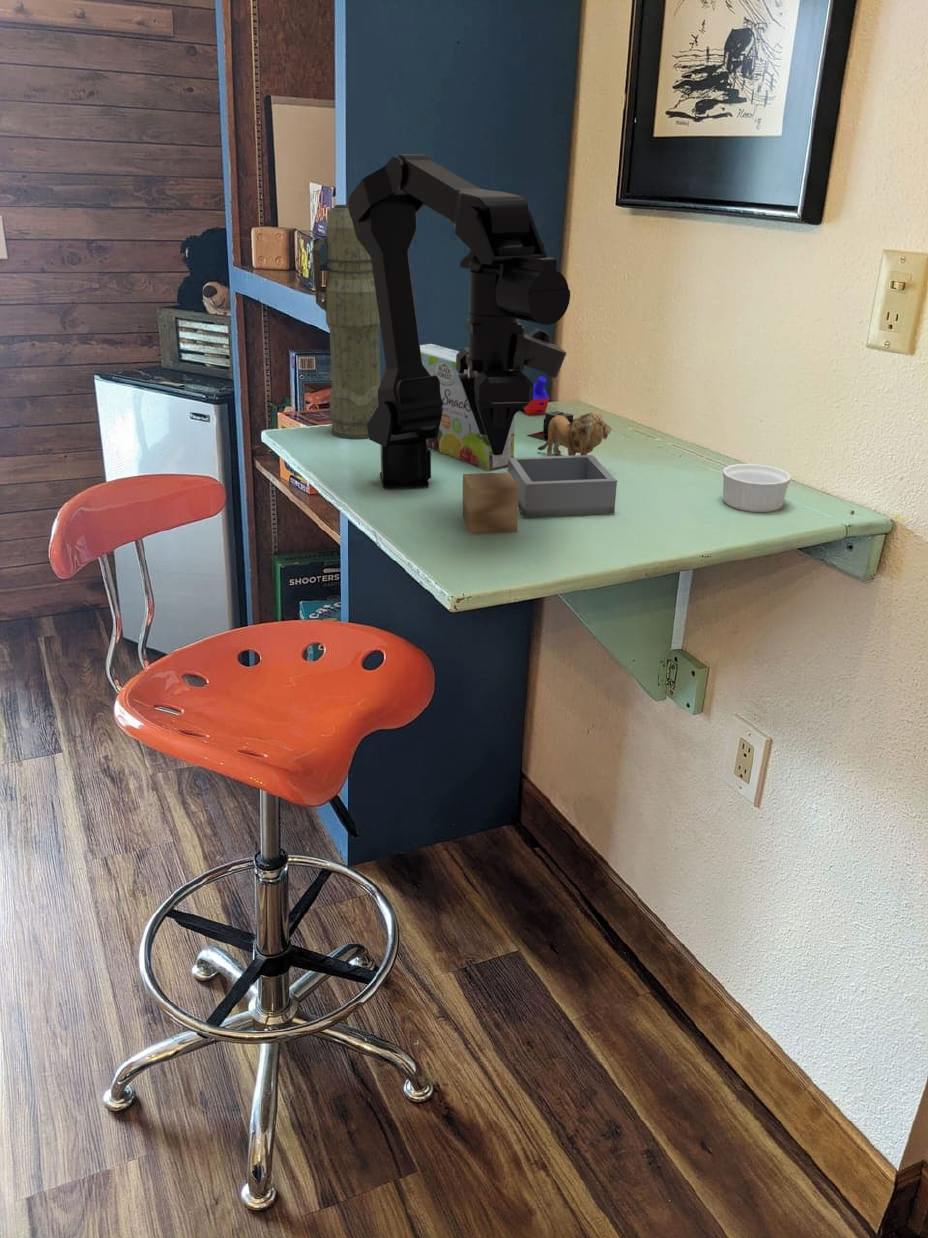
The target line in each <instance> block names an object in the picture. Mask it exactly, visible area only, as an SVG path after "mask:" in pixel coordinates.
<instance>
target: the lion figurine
mask: <svg viewBox="0 0 928 1238" xmlns="http://www.w3.org/2000/svg"><path fill="white" fill-rule="evenodd" d="M602 415H603V414H602V413H601V412H597V411H595V412H593V411H591V412H589V413H586V414H583V415H580V416H579V417H575V418H573V421H572V422H571V423H570V422H569V421H568V419H567V418H566V417H564V416H559V415H557V416H556V417H554V418H552V419H551V421H550V423H549V427H548V440H547V441H545V443H544V444H543V445H540V446H539V447H537V450H538V451H543V450H546V456H553V454H554V455H555V456H561V454H562V452H561V450H560V449H559V447H560V446H562V445H563V446H562V447H564V448H566V449H567V456H573V455H576V454H579V455H588V454H589V453H592V452H593V451H594V448H596V447H598V446H599V445H601V443H602V441H603V440H607V439H608V436H609V435H610V433H611V431H612V427H611V426H609V424H607V423H606V422H605V420H604V419H603V416H602ZM556 436H557V438H556ZM555 438H556V440H555ZM554 441H555V443H554ZM560 444H562V445H560ZM552 452H553V453H552Z"/></svg>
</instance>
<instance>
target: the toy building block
mask: <svg viewBox="0 0 928 1238" xmlns="http://www.w3.org/2000/svg"><path fill="white" fill-rule="evenodd" d="M546 382H547V378H546V377H545V376H544V375H539V377H538V378H537V380H536V382H535V383H533V384H534V391H533V401H531V402H529V404H528V405H527V406H526V407H523V408H522V409H520V410H519V411H524V412H525V414H526V415H527V416H531V415H540V414H541V415H542V414H546V412H547V409H548V406H549V402H550V400H551V399H550V396H549V394H548V393H547V391H546V390H545V387H546V384H547V383H546Z"/></svg>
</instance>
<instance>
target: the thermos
mask: <svg viewBox="0 0 928 1238" xmlns="http://www.w3.org/2000/svg"><path fill="white" fill-rule="evenodd" d="M326 222H327V224H326V229H325V236H324V238H320V239H318V240H317V242H315V244H314V246H313V247H312V248H311V249H312V262H313V263H312V264H313V273H314V274H313V277H314V287H315V290H314V291H315V303H316V305H317V306H318V307H319V308H320V309H321V310H323V311H324V312H325V323H326V325H327V327H328V329H329V347H330V348H329V349H330V367H331V369H330V370H331V389H330V394H329V417H330V419H331V433H332V435H333V436H335V437H337V438H341V439H349V440H363V439H364V440H365V439H369V434H368V429H367V424H368V422H369V420H370V419H371V417H372V415H373V414H374V412H375V411H376V409H377V407H378V388H379V386H380V383H381V359H380V358H381V355H380V353H381V352H380V350H381V349H380V329H381V326H380V319H379V312H378V305H377V298H376V290H375V283H374V276H373V269H372V262H371V257H370V255H369V254H368V253H367V251H366V250H365V249H364V247H363V246H362V245H361V243H360V242H359V241H358V239H357V238H356V235H355V231H354V226H353V222H352V219H351V216H350V214H349V209H348V204H334V207H329V211H328V215H327V219H326ZM323 245H325V246H326V260H328V261H327V262H328V269H327V278H326V283H325V287H324V300H323V293H322V277H321V275H322V274H321V271H322V270H321V257H320V255H321V254H320V253H321V252H320V250H321V247H322V246H323Z"/></svg>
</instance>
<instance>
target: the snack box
mask: <svg viewBox="0 0 928 1238" xmlns="http://www.w3.org/2000/svg"><path fill="white" fill-rule="evenodd" d="M420 350H421V358H422V363H423V366H424V367H425V368H426V370H427V371H428V372H429V374H430V375H431V376H435V375H436V376H437V377H438V379H439V381H440V394H441V399H442V402H443V406H442V407H443V413H442V418H441V422H440V427H439V432H438V436H437V438H436V439H426V441H427V446H428V447H429V449H430V448H431V449H433V450H436V451H438V452H440V453H443V454H445V455H448V456H450V457H452V458H455V459H457V460H460V461H463V462H465V463H467V464H470V465H472V466H474V467H477V468H479V469H482V470H484V471H488V472H491V471H493V470H494V471H495V470H497V469H498V470H499V469H503V468H507V467H508V458H515V456H514V455H515V418H516V417H515V415H516V414H515V415H514V418H513V421H512V424H511V427H510V430H509V434H508V437H507V441H506V444H505V447H504V451H503V454H502V455H493V453H492V450H491V447H490V444H489V441H488V438H487V435H481V434H480V432H479V429H478V427H477V424H476V421H475V419H474V416H473V413H472V411H471V408H470V405H469V403H468V400H467V397H466V395H465V392H464V390H463V387H462V384H461V382H460V379H459V377H458V375H459V373H458V372H457V370H456V355H457V354H458V353H459V352H460V351H459V350H456V349H453V348H448V347H445V346H442V345H437V344H434V343H427V344H420ZM464 374H465V370H464Z"/></svg>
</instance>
